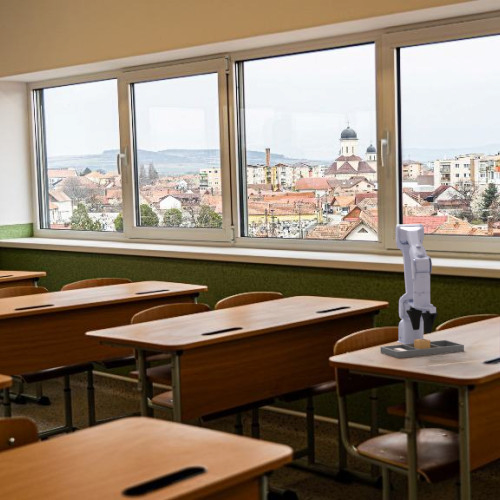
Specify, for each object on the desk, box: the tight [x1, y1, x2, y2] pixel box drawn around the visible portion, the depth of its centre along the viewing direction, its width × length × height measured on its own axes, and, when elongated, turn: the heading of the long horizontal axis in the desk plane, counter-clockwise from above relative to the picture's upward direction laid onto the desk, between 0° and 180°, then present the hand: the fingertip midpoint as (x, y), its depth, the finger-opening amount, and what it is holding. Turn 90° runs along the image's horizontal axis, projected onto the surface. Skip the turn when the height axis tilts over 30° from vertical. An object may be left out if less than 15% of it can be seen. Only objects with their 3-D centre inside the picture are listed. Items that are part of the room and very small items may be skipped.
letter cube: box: [414, 338, 431, 349], centre depth 315 cm, size 4×4×4 cm
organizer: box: [380, 339, 465, 359], centre depth 315 cm, size 11×26×2 cm, turn 112°
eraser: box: [394, 348, 408, 352], centre depth 312 cm, size 5×2×2 cm, turn 22°
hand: (422, 331), depth 314 cm, fingers open, 7 cm apart
